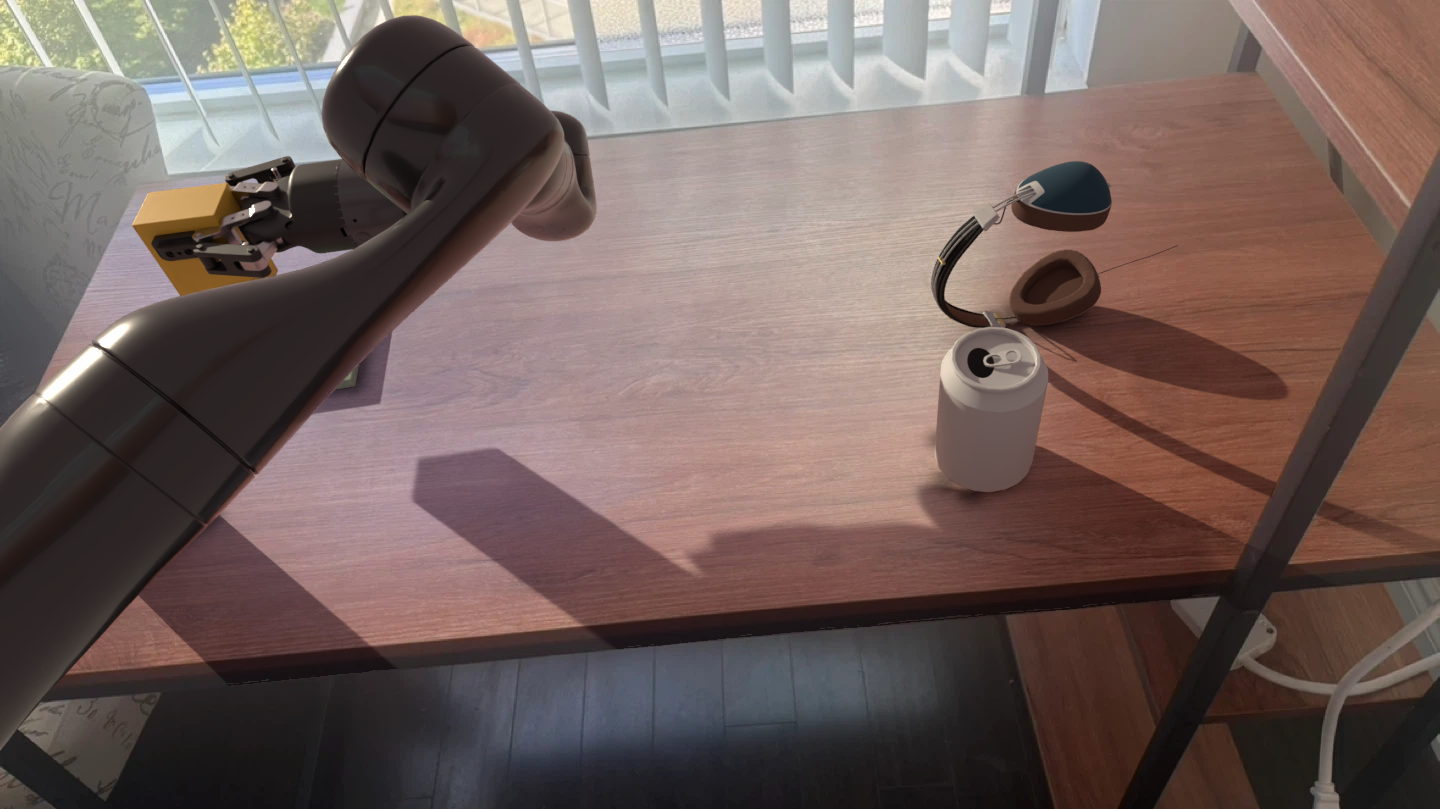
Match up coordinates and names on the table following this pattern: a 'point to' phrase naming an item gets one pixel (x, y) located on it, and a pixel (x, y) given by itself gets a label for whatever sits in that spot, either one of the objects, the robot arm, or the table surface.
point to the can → (989, 408)
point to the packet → (188, 214)
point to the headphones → (1055, 281)
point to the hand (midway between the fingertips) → (167, 229)
